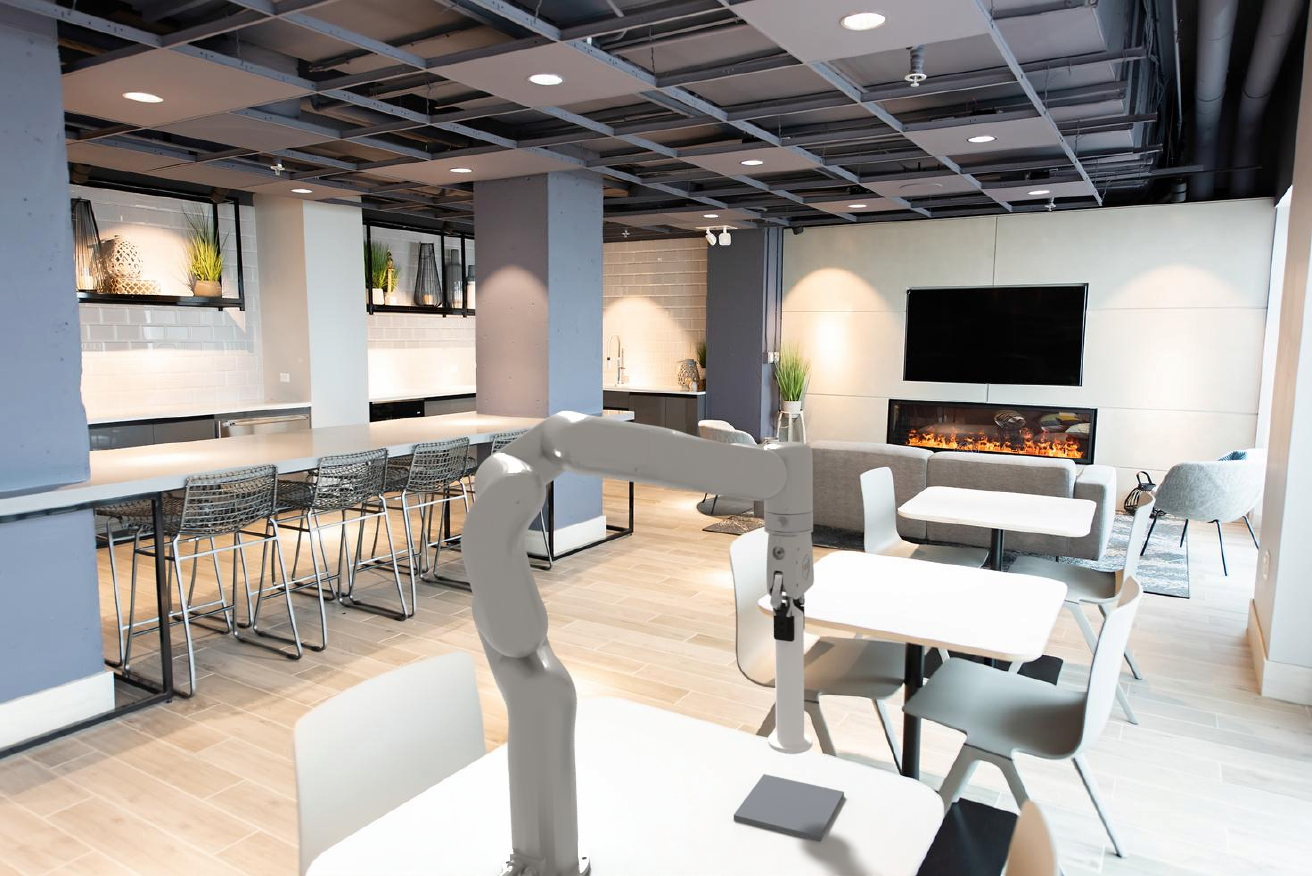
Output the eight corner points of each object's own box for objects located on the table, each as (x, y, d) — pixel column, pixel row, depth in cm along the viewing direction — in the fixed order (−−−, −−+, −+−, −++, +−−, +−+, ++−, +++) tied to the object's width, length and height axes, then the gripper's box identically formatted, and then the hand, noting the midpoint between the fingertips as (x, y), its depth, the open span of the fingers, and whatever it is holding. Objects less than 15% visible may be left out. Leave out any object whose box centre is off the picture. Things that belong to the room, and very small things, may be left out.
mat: (819, 841, 129) (819, 836, 129) (733, 819, 135) (733, 814, 135) (844, 796, 142) (844, 791, 141) (763, 778, 148) (763, 774, 148)
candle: (811, 755, 133) (811, 600, 130) (766, 752, 135) (764, 598, 132) (812, 735, 140) (812, 586, 137) (769, 732, 141) (767, 585, 139)
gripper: (794, 535, 124) (795, 656, 126) (827, 512, 139) (827, 621, 141) (746, 530, 127) (747, 649, 129) (782, 509, 142) (783, 615, 144)
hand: (789, 633), depth 135 cm, fingers closed on candle, 4 cm apart
